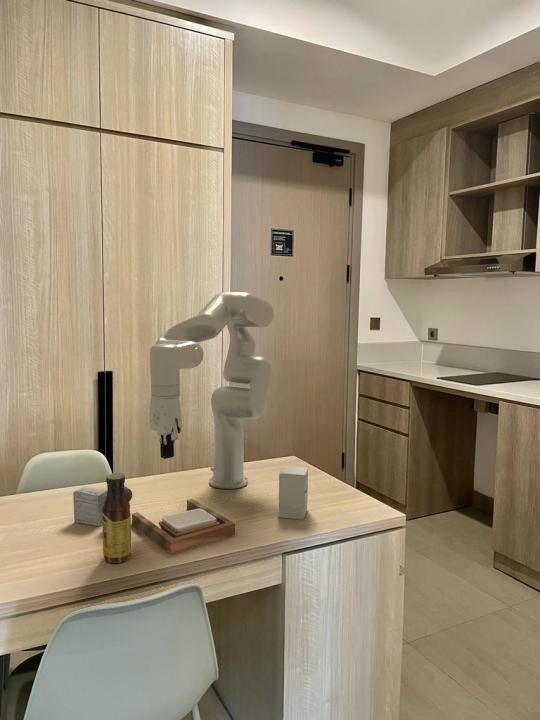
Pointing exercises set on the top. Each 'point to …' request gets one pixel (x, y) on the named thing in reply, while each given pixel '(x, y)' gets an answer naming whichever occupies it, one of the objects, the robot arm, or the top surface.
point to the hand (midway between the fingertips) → (167, 457)
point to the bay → (185, 541)
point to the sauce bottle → (116, 521)
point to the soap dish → (187, 522)
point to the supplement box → (293, 492)
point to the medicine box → (89, 505)
